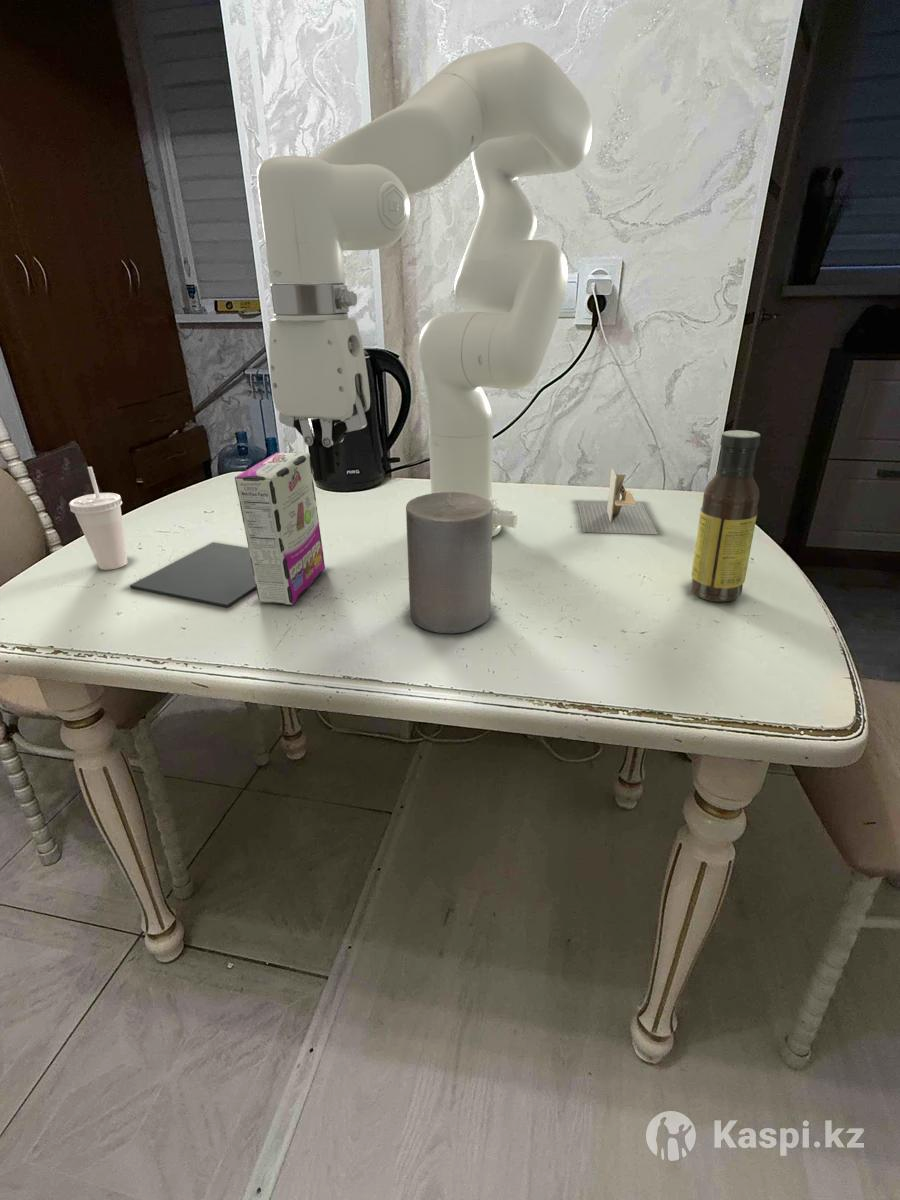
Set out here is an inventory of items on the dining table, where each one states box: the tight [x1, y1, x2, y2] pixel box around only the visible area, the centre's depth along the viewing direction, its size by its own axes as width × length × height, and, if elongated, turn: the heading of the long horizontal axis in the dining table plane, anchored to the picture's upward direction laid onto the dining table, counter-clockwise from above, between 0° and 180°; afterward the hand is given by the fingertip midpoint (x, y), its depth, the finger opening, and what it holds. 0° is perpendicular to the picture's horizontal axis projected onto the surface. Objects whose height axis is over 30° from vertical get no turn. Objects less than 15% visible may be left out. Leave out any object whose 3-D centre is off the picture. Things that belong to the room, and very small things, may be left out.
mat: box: [129, 542, 257, 608], centre depth 86 cm, size 16×16×1 cm
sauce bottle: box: [690, 429, 761, 602], centre depth 74 cm, size 6×6×20 cm
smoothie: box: [68, 466, 128, 571], centre depth 86 cm, size 6×6×14 cm
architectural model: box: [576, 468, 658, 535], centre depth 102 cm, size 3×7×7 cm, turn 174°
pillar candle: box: [405, 492, 494, 634], centre depth 71 cm, size 10×10×15 cm
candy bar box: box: [234, 451, 326, 606], centre depth 78 cm, size 11×5×16 cm, turn 168°
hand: (328, 478), depth 73 cm, fingers closed
